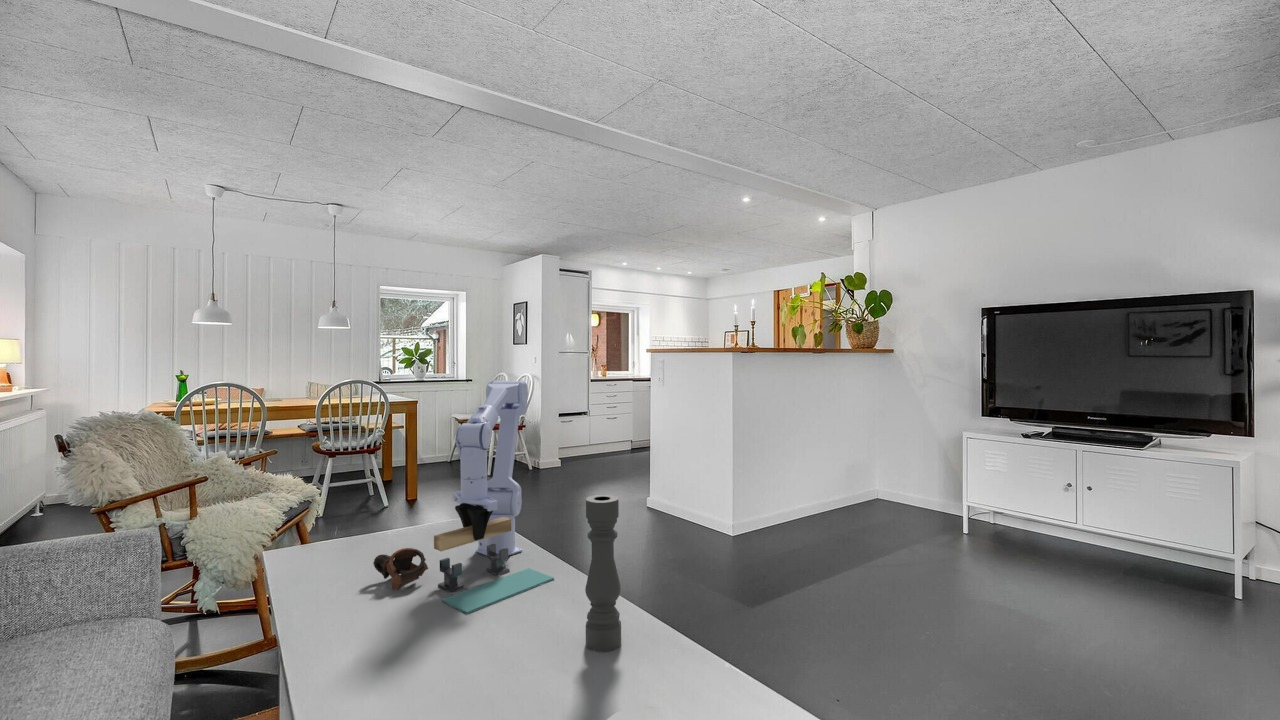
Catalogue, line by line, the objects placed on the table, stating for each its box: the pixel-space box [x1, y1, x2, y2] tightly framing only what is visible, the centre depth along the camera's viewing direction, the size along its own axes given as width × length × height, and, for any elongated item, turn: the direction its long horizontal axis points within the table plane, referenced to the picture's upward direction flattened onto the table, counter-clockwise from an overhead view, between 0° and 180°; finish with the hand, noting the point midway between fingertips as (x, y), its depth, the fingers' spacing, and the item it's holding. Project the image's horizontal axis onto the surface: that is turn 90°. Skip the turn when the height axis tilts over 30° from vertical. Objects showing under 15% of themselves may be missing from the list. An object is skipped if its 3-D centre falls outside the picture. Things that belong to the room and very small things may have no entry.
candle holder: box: [584, 494, 622, 653], centre depth 99 cm, size 6×6×25 cm
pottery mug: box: [372, 547, 429, 591], centre depth 126 cm, size 12×9×8 cm
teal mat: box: [441, 567, 555, 615], centre depth 122 cm, size 9×22×1 cm, turn 139°
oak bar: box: [433, 517, 511, 552], centre depth 128 cm, size 3×18×3 cm, turn 139°
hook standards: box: [438, 544, 510, 593], centre depth 128 cm, size 6×15×6 cm, turn 139°
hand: (474, 537), depth 128 cm, fingers closed on oak bar, 3 cm apart
